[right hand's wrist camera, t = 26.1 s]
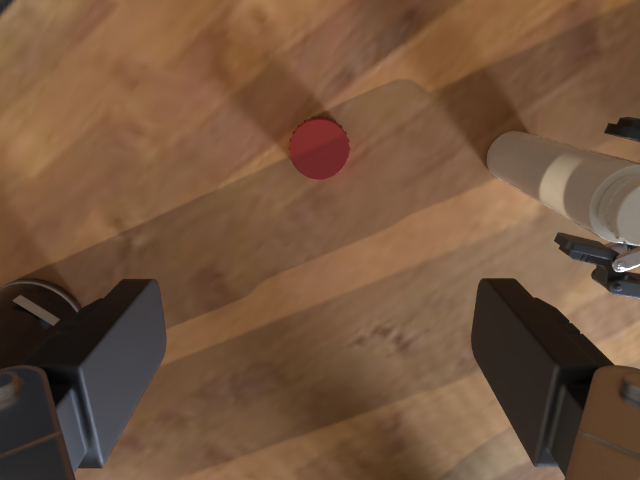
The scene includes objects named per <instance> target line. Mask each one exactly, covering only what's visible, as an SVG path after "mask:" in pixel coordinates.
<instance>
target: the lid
mask: <svg viewBox="0 0 640 480" xmlns="http://www.w3.org/2000/svg"><path fill="white" fill-rule="evenodd" d="M289 150H290V158H291V160H292V162H293V165H294V166H295V167H296V168H297V170H298V171H299V172H301V173H302V174H303V175H305V176H307V177H309V178H312V179H327V178H330V177H332V176H334V175H336V174H337V173H339V172H340V171H341V170H342V169H343V167H344V166H345V165H346V162H347V160H348V158H349V150H350V147H349V139H347V136H346V132H344V130H343V129H342V126H341V125H340V126H339V125H338V124H337V123H336V121H335V120H334V121H333V120H331V119H328V117H327V118H323V117H320V116H319V117H316V118H313V117H311V119H309V120H307V121H305V120H304V122H303V123H302V124H301V125H298V127H297V129H296V131H294V132H293V137H292V138H291V139H290V147H289Z"/></svg>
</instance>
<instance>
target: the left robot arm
mask: <svg viewBox="0 0 640 480" xmlns="http://www.w3.org/2000/svg"><path fill="white" fill-rule="evenodd" d="M604 133H607V134H610V135H614V136H618V137H622V138H626V139H630V140H634V141H637V142H640V119H638V118H631V117H625V118H620V119H619V121H618V123H617V125H616V124H610V123H608V125H607V128H606V130H605V132H604ZM554 241H555V242H556V243H558V244H559V245H560V247H559V249H560V250H561V251H563V252H564V253H565V254H567V255H568V256H569V257H571V258H572V259H574V260H579V261H583V262H587V263H591V264H596V269H595V270H594V271H593V272H592V274H591V277H592V279H593V280H595V281H596V282H598V283H600V284H601V285H602V286H604V287H605V288H606V289H607V290H608V291H609V292H611V293H612V294H615V295H622V296H628V297H634V298H640V274H637V273H632V272H626V271H625V270H628V269H631V268H634V267H636V266H639V265H640V246H634V245H629V244H625V243H615V242H611V243H608V244H605V245H603V244H602V243H600V242H598V241H593V240H589V239H585V238H581V237H577V236H572V235H568V234H564V233H559V232H558V233H557V236H556V238H555V240H554Z"/></svg>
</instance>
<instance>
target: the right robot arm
mask: <svg viewBox="0 0 640 480" xmlns="http://www.w3.org/2000/svg"><path fill="white" fill-rule="evenodd" d="M471 344H472V350H473V354H474V357H475V359H476V361H477V363H478V365H479V367H480V369H481V370H482V372H483V374H484V376H485V378H486V379H487V381H488V383H489V385H490V387H491V388H492V390H493V392H494V394H495V396H496V398H497V399H498V401H499V403H500V405H501V407H502V408H503V410H504V412H505V414H506V416H507V418H508V419H509V421H510V423H511V425H512V427H513V428H514V430H515V432H516V434H517V436H518V437H519V439H520V441H521V443H522V445H523V447H524V448H525V450H526V452H527V454H528V456H529V457H530V459H531V461H532V463H533V465H534V466H535V467H559V468H560V469H561V471H562V472H563V474H564V476H565V480H640V369H637V368H633V367H628V366H620V365H614V364H613V363H612V362H611V361H610V360H609V359H608V358H607V357H606V356H605V355H604V354H603V353H602V352H601V351H600V350H599V349H598V348H597V347H596V346H595V345H594V344H593V343H592V342H591V341H590V340H589V339H587V338H586V337H585V336H584V335H583V334H580V331H579V330H578V329H577V328H576V327H575V326H574V325H573V324H572V323H569V320H568V319H567V318H566V317H565V316H564V315H563V314H562V313H561V312H560V311H559V310H558V309H557V308H555V307H553V306H551V305H550V304H548V303H546V302H544V301H542V300H540V299H539V298H533V297H532V296H531V295H530V294H529V293H528V292H527V291H526V290H525V288H524V287H523V286H522V285H521V284H520V283H519V282H518V281H517V280H516V279H514V278H483V279H482V280H481V281H480V283H479V285H478V290H477V297H476V304H475V311H474V319H473V326H472V333H471ZM165 350H166V329H165V322H164V315H163V308H162V301H161V294H160V288H159V284H158V282H157V281H156V280H155V279H123V280H121V281H120V282H119V283H118V284H117V285H116V286H115V287H114V288H113V289H112V290H111V291H110V292H109V293H108V294H107V295H106V297H105V298H100V299H98V300H96V301H94V302H93V303H91V304H89V305H87V306H85V307H83V308H81V307H80V305H79V304H78V303H77V301H76V300H75V299H74V298H73V297H72V296H71V295H70V294H68V293H67V292H66V291H64V290H63V289H61V288H59V287H58V286H56V285H54V284H51V283H48V282H45V281H42V280H36V279H21V280H16V281H13V282H10V283H8V284H6V285H4V286H3V287H1V288H0V480H75V476H74V473H75V471H76V470H77V468H102V467H103V465H104V464H105V462H106V460H107V458H108V456H109V455H110V453H111V451H112V449H113V447H114V446H115V444H116V442H117V440H118V438H119V437H120V435H121V433H122V431H123V429H124V428H125V426H126V424H127V422H128V421H129V419H130V417H131V415H132V413H133V412H134V410H135V408H136V406H137V404H138V403H139V401H140V399H141V397H142V395H143V394H144V392H145V390H146V388H147V387H148V385H149V383H150V381H151V379H152V378H153V376H154V374H155V372H156V370H157V369H158V367H159V365H160V363H161V361H162V359H163V357H164V354H165Z"/></svg>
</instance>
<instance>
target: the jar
mask: <svg viewBox="0 0 640 480" xmlns="http://www.w3.org/2000/svg"><path fill="white" fill-rule="evenodd" d="M487 166H488V169H489V171H490V172H491V174H492V175H493V176H494V177H496V178H497V179H499V180H501V181H503V182H504V183H506V184H508V185H510V186H511V187H513V188H515V189H517V190H518V191H520V192H522V193H524V194H525V195H527V196H529V197H531V198H532V199H534V200H536V201H538V202H539V203H541V204H543V205H545V206H546V207H548V208H550V209H552V210H553V211H555V212H557V213H559V214H560V215H562V216H564V217H566V218H567V219H569V220H571V221H573V222H574V223H576V224H578V225H580V226H581V227H583V228H585V229H587V230H588V231H590V232H592V233H594V234H595V235H597V236H599V237H601V238H603V239H605V240H607V241H610V242H615V243H625V244H629V245H634V246H640V163H638V162H634V161H630V160H626V159H623V158H619V157H615V156H611V155H608V154H604V153H600V152H597V151H593V150H589V149H585V148H582V147H578V146H574V145H570V144H567V143H563V142H559V141H555V140H552V139H548V138H544V137H541V136H537V135H533V134H529V133H526V132H522V131H510V132H507V133H504V134H502V135H501V136H499V137H498V138H497V139H496V140H495V141H494V142H493V143H492V144H491V146H490V148H489V150H488V154H487Z"/></svg>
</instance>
